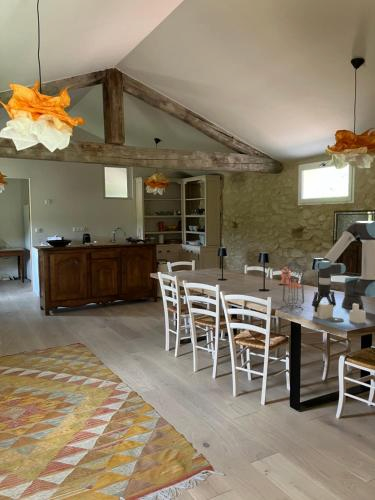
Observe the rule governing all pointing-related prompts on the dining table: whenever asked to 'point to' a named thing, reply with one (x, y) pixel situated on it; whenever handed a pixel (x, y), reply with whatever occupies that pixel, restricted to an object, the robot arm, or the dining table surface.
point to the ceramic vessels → (288, 280)
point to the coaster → (335, 319)
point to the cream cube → (324, 310)
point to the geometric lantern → (293, 280)
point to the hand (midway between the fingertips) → (323, 316)
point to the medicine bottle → (357, 314)
